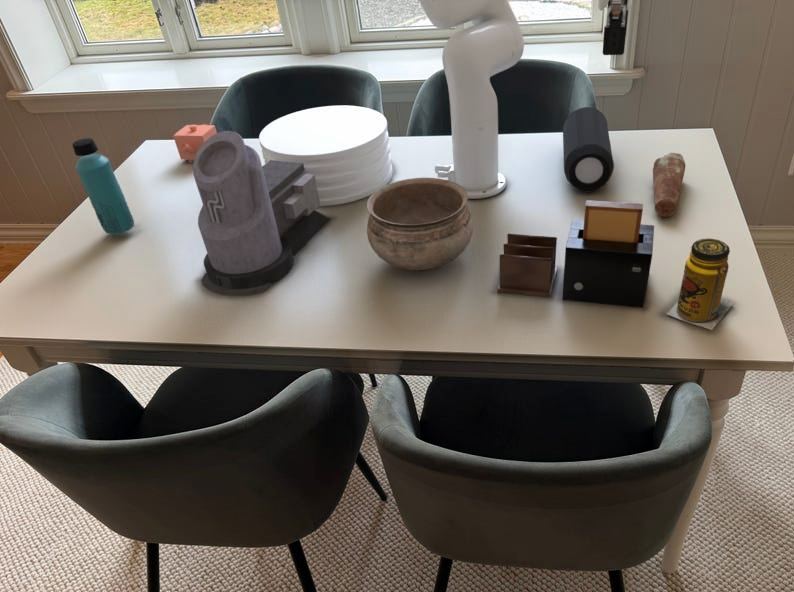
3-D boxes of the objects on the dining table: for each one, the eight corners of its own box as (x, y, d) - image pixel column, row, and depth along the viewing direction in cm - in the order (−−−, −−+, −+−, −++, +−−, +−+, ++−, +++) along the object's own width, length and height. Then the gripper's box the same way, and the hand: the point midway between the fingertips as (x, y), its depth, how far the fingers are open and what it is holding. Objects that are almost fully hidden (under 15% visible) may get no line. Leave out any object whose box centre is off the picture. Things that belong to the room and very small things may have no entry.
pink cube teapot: (175, 168, 164) (164, 135, 158) (198, 148, 172) (188, 117, 167) (204, 169, 162) (194, 136, 157) (226, 149, 171) (217, 117, 165)
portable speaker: (612, 196, 137) (617, 149, 130) (562, 196, 138) (565, 150, 132) (604, 145, 156) (608, 102, 149) (561, 146, 157) (563, 103, 151)
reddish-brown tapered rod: (683, 177, 141) (688, 152, 137) (677, 221, 127) (682, 194, 124) (652, 175, 142) (656, 150, 139) (643, 218, 129) (647, 191, 125)
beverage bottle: (144, 228, 141) (108, 135, 128) (121, 243, 136) (81, 149, 123) (121, 223, 143) (83, 132, 130) (98, 238, 139) (56, 145, 126)
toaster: (561, 303, 110) (564, 250, 103) (568, 270, 117) (572, 219, 111) (643, 311, 107) (652, 257, 100) (645, 277, 114) (654, 225, 107)
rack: (497, 292, 114) (496, 256, 109) (506, 266, 120) (506, 231, 115) (550, 297, 111) (552, 261, 107) (557, 270, 117) (559, 235, 113)
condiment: (665, 315, 105) (678, 249, 98) (688, 290, 110) (702, 225, 102) (711, 331, 102) (728, 264, 94) (733, 304, 106) (750, 238, 99)
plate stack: (416, 163, 156) (411, 114, 148) (342, 216, 138) (332, 164, 131) (323, 145, 168) (315, 99, 161) (245, 191, 151) (231, 142, 143)
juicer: (260, 302, 116) (221, 169, 101) (185, 288, 122) (138, 160, 106) (339, 220, 137) (317, 99, 121) (273, 211, 142) (244, 94, 127)
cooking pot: (453, 305, 112) (450, 241, 104) (349, 292, 117) (338, 230, 109) (488, 231, 129) (487, 172, 122) (397, 223, 135) (390, 165, 127)
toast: (580, 266, 110) (585, 205, 103) (581, 260, 111) (586, 200, 104) (633, 271, 108) (642, 209, 100) (634, 265, 109) (643, 203, 102)
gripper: (601, -89, 103) (593, 31, 114) (594, -71, 90) (586, 62, 101) (652, -92, 101) (639, 30, 112) (652, -75, 88) (638, 61, 99)
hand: (614, 45), depth 106 cm, fingers open, 9 cm apart
